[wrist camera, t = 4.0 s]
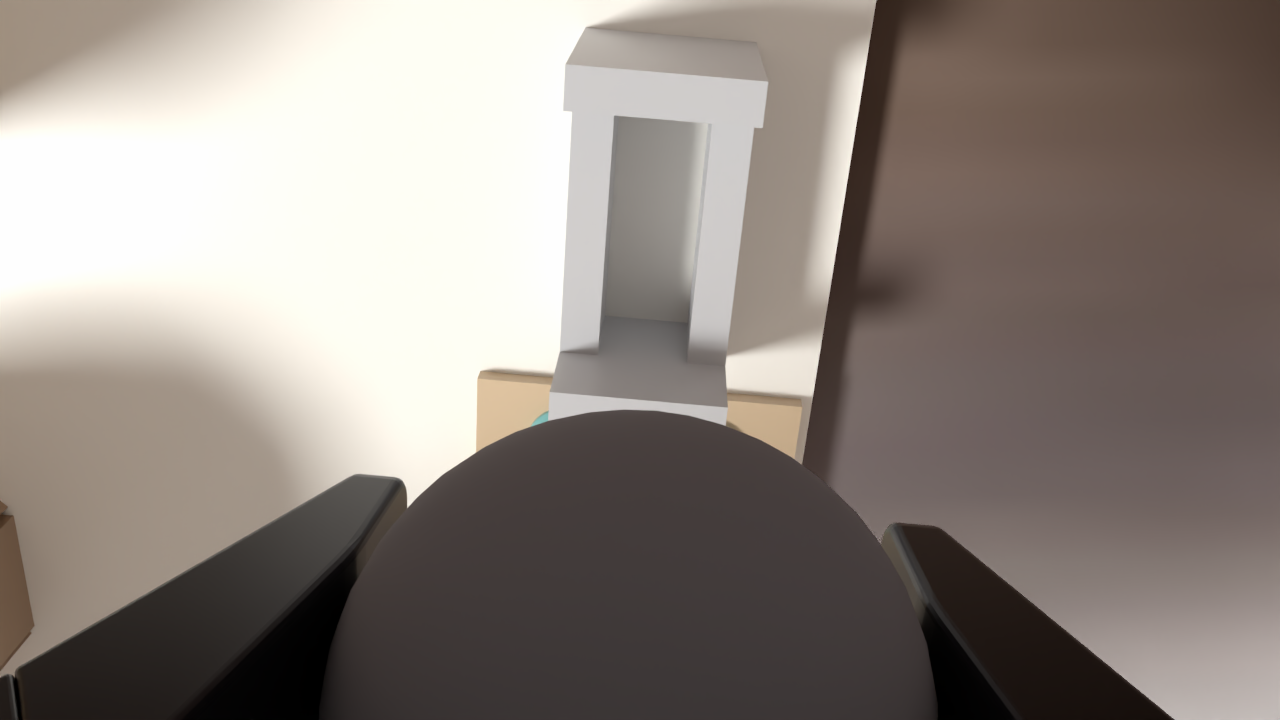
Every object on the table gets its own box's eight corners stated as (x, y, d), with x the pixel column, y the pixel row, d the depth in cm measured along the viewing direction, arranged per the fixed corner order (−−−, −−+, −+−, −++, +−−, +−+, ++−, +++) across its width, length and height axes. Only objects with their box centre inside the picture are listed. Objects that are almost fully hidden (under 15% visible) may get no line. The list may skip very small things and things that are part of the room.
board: (740, 821, 25) (760, 1231, 17) (-257, 731, 25) (-648, 1102, 18) (912, -272, 16) (1100, -361, 9) (-646, -404, 16) (-1763, -603, 9)
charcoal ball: (846, 743, 10) (927, 1247, 7) (405, 703, 10) (244, 1181, 7) (929, 341, 8) (1098, 723, 5) (398, 293, 9) (178, 637, 5)
